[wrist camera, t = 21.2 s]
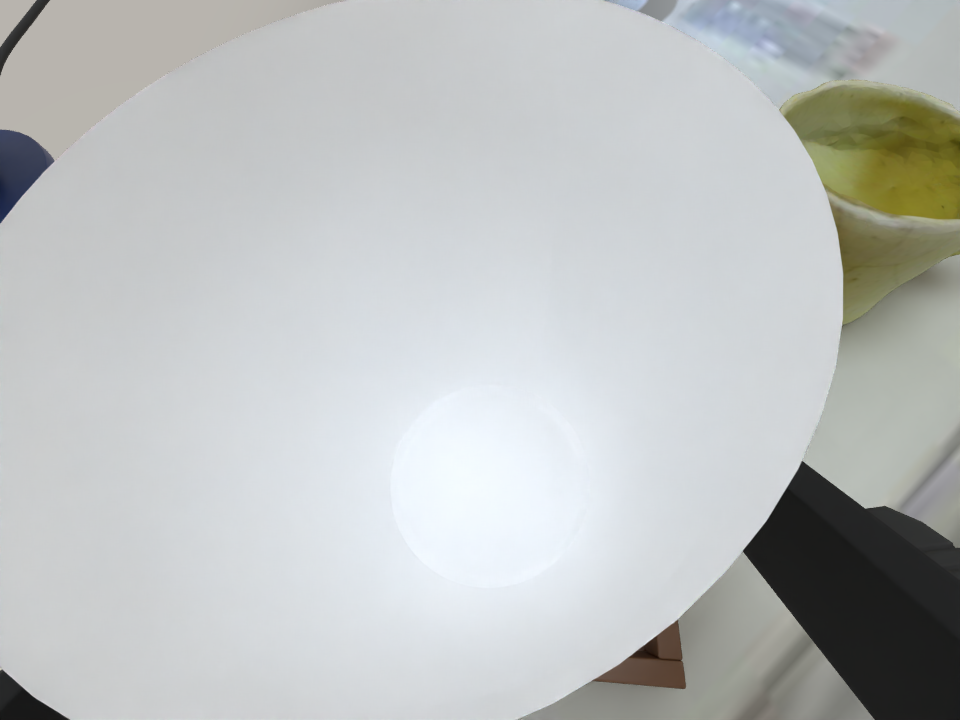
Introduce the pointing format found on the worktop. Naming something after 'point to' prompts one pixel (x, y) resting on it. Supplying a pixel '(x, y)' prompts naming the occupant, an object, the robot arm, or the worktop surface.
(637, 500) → the cup
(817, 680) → the worktop surface
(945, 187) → the mug
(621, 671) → the tray
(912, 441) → the worktop surface
